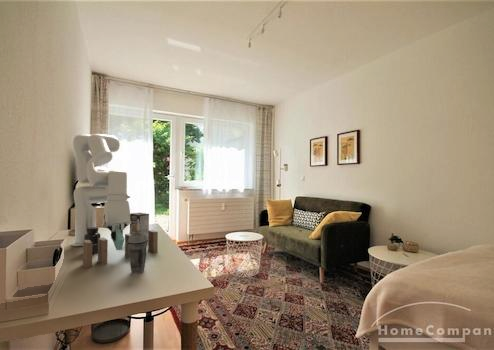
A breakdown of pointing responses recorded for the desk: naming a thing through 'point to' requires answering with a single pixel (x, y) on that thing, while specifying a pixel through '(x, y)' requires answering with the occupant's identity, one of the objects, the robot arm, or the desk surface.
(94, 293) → the desk surface
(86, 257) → the domino
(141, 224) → the coffee box
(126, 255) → the domino
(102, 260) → the domino
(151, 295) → the desk surface
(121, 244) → the teal domino
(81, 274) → the desk surface
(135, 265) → the beverage cup
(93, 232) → the supplement bottle
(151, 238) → the domino
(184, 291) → the desk surface
